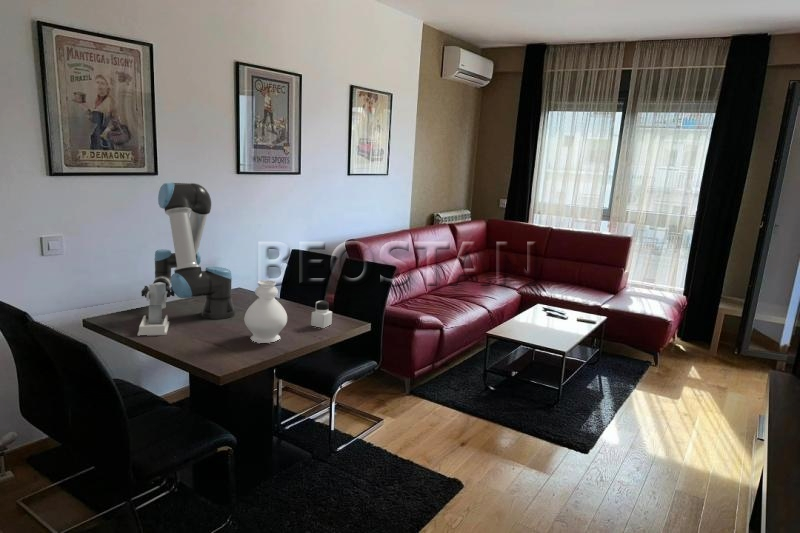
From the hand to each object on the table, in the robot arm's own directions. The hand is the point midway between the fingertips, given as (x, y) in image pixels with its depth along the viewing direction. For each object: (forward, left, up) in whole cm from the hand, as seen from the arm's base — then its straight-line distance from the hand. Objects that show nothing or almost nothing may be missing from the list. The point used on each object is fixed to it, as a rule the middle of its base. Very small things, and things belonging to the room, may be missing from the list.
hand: (156, 297), depth 240 cm
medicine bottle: (-73, +15, -11) cm, 75 cm away
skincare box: (0, -5, -7) cm, 9 cm away
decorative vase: (-46, +30, -11) cm, 56 cm away
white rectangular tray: (0, +12, -11) cm, 16 cm away
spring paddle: (0, +7, -10) cm, 12 cm away
